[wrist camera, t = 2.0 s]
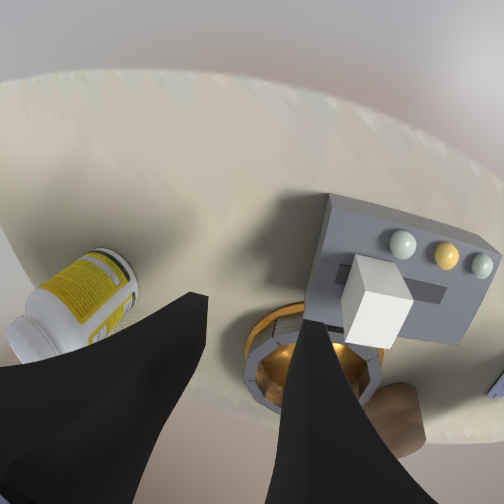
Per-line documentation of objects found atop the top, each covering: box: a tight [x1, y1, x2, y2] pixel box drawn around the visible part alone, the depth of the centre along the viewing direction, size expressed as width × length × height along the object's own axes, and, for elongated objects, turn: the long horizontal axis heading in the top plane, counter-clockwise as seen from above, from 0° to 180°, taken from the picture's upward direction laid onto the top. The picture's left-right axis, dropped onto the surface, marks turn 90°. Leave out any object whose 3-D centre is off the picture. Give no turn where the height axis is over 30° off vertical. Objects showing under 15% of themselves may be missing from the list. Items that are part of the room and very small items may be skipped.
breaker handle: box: [341, 254, 414, 349], centre depth 11 cm, size 2×2×3 cm
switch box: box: [303, 193, 502, 345], centre depth 14 cm, size 10×6×4 cm, turn 82°
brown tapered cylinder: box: [366, 383, 426, 459], centre depth 17 cm, size 4×4×5 cm
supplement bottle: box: [6, 248, 138, 364], centre depth 16 cm, size 5×5×10 cm
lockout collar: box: [243, 302, 384, 415], centre depth 18 cm, size 10×10×2 cm
